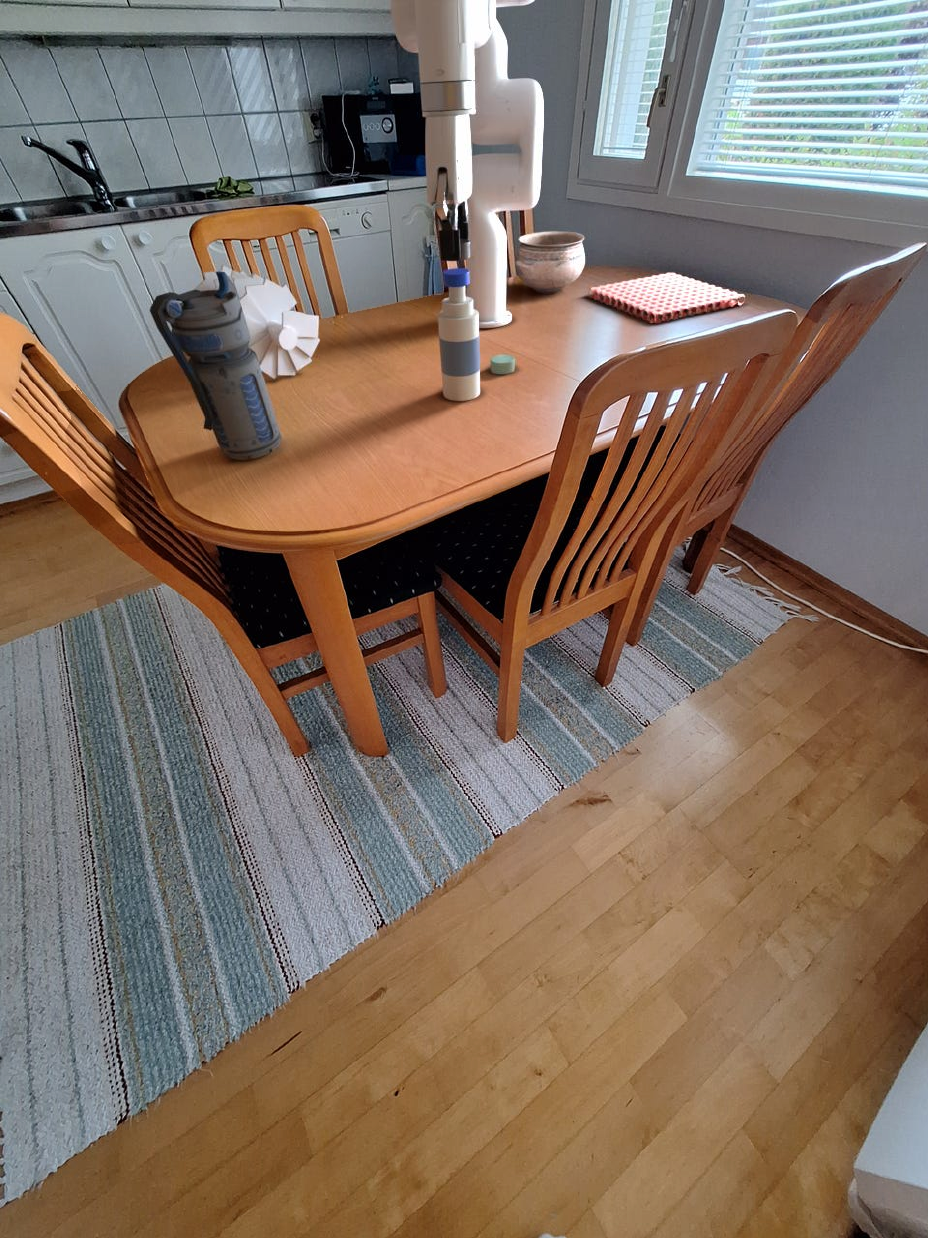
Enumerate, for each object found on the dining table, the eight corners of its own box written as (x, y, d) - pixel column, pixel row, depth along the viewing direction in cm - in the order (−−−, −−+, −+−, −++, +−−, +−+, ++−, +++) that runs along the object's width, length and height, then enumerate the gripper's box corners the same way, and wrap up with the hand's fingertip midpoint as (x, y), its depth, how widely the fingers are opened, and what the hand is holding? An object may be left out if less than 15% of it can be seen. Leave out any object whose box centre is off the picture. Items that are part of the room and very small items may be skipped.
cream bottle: (437, 389, 104) (428, 269, 90) (471, 382, 106) (468, 263, 92) (450, 404, 100) (443, 279, 85) (486, 396, 101) (484, 272, 87)
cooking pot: (554, 275, 160) (557, 226, 152) (603, 286, 150) (609, 234, 141) (492, 293, 150) (492, 241, 141) (540, 306, 139) (544, 251, 130)
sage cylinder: (486, 367, 111) (486, 356, 110) (508, 363, 112) (508, 352, 111) (496, 376, 108) (496, 364, 106) (518, 371, 109) (518, 360, 108)
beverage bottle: (198, 460, 88) (123, 289, 70) (259, 428, 96) (205, 266, 78) (237, 476, 84) (168, 298, 66) (298, 441, 92) (251, 273, 74)
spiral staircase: (284, 404, 112) (227, 369, 124) (339, 345, 114) (277, 317, 126) (223, 330, 96) (164, 299, 108) (288, 264, 98) (223, 240, 110)
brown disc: (435, 256, 88) (434, 240, 86) (463, 252, 89) (463, 237, 88) (446, 262, 85) (445, 246, 83) (475, 258, 86) (474, 242, 84)
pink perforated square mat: (587, 296, 144) (588, 287, 143) (669, 280, 152) (671, 271, 150) (654, 324, 126) (656, 314, 124) (744, 304, 133) (746, 295, 132)
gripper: (439, 100, 80) (447, 244, 93) (403, 104, 69) (417, 268, 82) (487, 97, 79) (488, 244, 92) (459, 101, 67) (464, 269, 80)
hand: (455, 254), depth 87 cm, fingers closed on brown disc, 5 cm apart
